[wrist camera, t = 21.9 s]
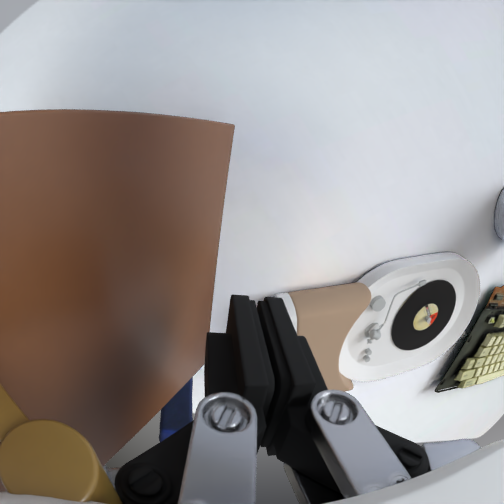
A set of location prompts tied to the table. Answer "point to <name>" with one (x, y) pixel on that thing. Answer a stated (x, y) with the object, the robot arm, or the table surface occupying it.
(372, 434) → the robot arm
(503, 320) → the keyboard
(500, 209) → the steel cup
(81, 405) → the lid
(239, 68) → the table surface
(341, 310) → the record player
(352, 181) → the table surface
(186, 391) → the eraser
